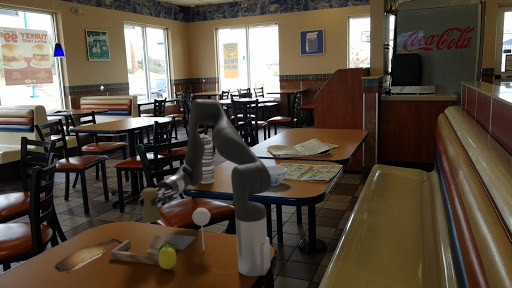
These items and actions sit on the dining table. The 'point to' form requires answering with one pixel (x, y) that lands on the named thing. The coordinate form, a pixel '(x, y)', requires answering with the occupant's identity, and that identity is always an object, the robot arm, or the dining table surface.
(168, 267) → the lemon
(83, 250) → the parchment
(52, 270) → the dining table surface
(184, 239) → the pad
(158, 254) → the offcut lower
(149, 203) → the cork
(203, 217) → the lollipop
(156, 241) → the offcut upper
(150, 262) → the frame
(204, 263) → the dining table surface
